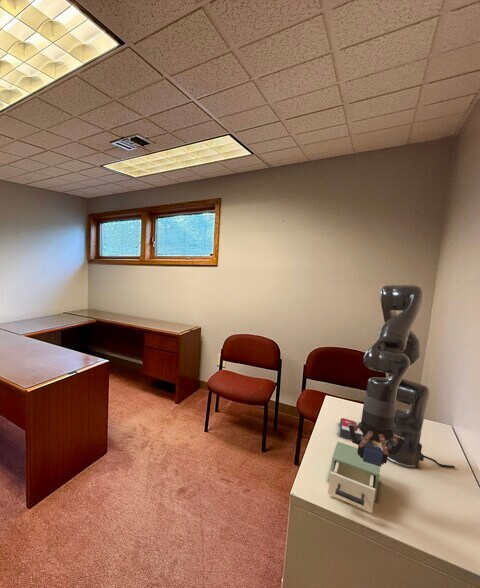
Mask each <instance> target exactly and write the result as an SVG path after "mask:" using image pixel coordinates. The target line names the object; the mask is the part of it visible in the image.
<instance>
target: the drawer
mask: <svg viewBox="0 0 480 588" xmlns="http://www.w3.org/2000/svg"><path fill="white" fill-rule="evenodd" d="M330 471H331V470H330ZM330 471H329V472H330ZM329 478H330V479H328V487H327V495H329V496H332V497H334V498H337V499H339V500H341V501H343V502H346V503H348V504H350V505H351V506H352V505H353V506H354V507H357V508H359V509H362V510H364V511H366V512H369V513H371V514H373V511H374V503H375V501H374V498H375V491H376V489H375V488H373V480H374V475H372V474H370V473H367V472H364V471H361V470H359V469H356V468H353V467H351V466H348V465H345V464H343V463H340V462H336V465H335V469H334V472H332V471H331V472H330V473H329Z"/></svg>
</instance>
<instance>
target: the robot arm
mask: <svg viewBox="0 0 480 588" xmlns="http://www.w3.org/2000/svg"><path fill="white" fill-rule="evenodd" d="M379 301H380V307H381V312H382V317H383V322H384V324H382V326H381V327H380V329H379V332H378V335H377V338H376V340H375V342H374V343H373V344H372V345H371V346H370V347H369V348H368V349H367V350H366V352H365V353H364V355H363V365H364V366H365V367H366V368H367V369H369V370H370V371H375V372H381V373H385V374H388V377H377V376H373V377H369V379H368V380H367V386H366V391H365V392H366V393H365V397H364V400H363V405H362V411H361V419H360V423H359V425H358V424H352V423H349V430H350V434H351V438H352V440H351V442H352V443H353V444H355V445H357V446H358V447H357V448H358V451H357V452H358V455H359V456H360V458H363V454H364V445H365V444H366V443H367V442H368V440H371V441H372V442H376V443H379V444H380V446H381V449H382V452H383V458H382V464H381V465H384V464H387V463H388V461H390V462H391V463H394V464H396V465H399V466H401V467H404V468H405V467H406V468H419V466H420V462H424V459H427V460H430V461H432V462H434V463H435V464H436V465H437V466H439V467H443V468H451V469H452V468H454V469H455V468H456V466H455V465H452V464H442V463H440V462H438V461H437V460H436V459H434V458H432V457H429V456H427V455H424V454H423V453H422V449H423V445H422V443H420V442H421V436H422V432H423V425H424V420H425V417H426V413H427V408H428V404H429V401H430V395H431V392H430V388H429V387H428V386H427V385H424V384H421V383H417V382H414V381H412V380H411V381H410V380H408V379H405V378H404V377H405V375H406V374H407V373H408V370H409V369H410V368H411V367H412V366H414V364H416V363H417V362H418V361H419V360H420V358H421V353H422V352H421V342H420V339H419V337H418V335H417V334H416V333H415V332H414V331H413V330H412V328H413V326H414V324H415V322H416V321H417V318H418V316H419V314H420V313H421V311H422V309H423V305H424V302H425V293H424V289H423V288H422V287H421V286H419V285H414V284H413V285H412V284H396V285H395V284H391V285H390V284H389V285H384V286H382V287H381V289H380V291H379ZM397 311H400V313H397ZM396 402H399V403H401V404H404V405H407V406H410V408H408V409H407V408H396V407H397V403H396ZM358 428H359V429H360V430H361V432H362V433H363V435H362V436H361V438H360V440H358V439H356V435H355V432H356V431H357V429H358Z"/></svg>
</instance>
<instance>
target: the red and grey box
mask: <svg viewBox="0 0 480 588" xmlns="http://www.w3.org/2000/svg"><path fill="white" fill-rule="evenodd" d="M339 421H340V422H339V437H340V438H344V439H346V440H347V439H348V440H351V441H352V438H351V434H350V430H349V423H352V424H358V425H359V423H360V422H361V421H360V422H359V421H355V420H352V419H348V418H345V417H341V418H340V420H339ZM355 435H356V439H358V440H360V438H361V436H362V435H363V433H362V432H361V430H360V429H359V428H358V429H357V431H356V432H355ZM366 444H370V445H373V441H371V440H368V442H367V443H366Z"/></svg>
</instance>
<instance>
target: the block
mask: <svg viewBox="0 0 480 588" xmlns="http://www.w3.org/2000/svg"><path fill="white" fill-rule="evenodd" d="M382 458H383V452H382V447H380V446H377V445H373V444H372V445H370V444H365V445H364V454H363V461H364V462H367V463H370V464H373V465H377V466H380V468H381V467H382V465H383V464H382Z"/></svg>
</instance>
